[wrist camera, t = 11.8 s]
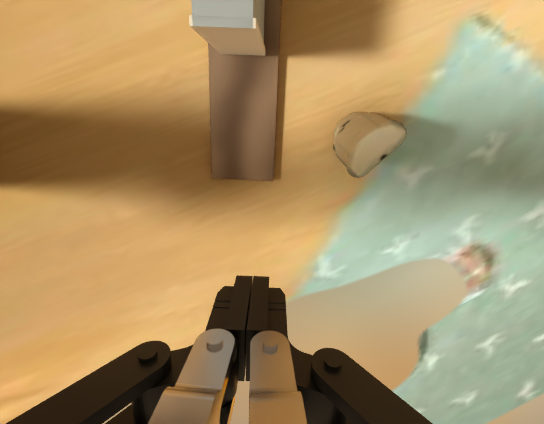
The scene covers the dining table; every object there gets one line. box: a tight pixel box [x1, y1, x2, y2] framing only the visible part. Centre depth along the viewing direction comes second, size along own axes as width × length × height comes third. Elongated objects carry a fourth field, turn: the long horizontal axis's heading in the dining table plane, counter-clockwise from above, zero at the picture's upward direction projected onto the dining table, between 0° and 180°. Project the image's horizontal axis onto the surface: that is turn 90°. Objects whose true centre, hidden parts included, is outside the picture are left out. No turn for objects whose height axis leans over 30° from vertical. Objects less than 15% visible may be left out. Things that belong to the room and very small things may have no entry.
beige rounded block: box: [333, 112, 407, 178], centre depth 28 cm, size 6×5×8 cm
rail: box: [208, 0, 281, 181], centre depth 28 cm, size 7×26×3 cm, turn 178°
